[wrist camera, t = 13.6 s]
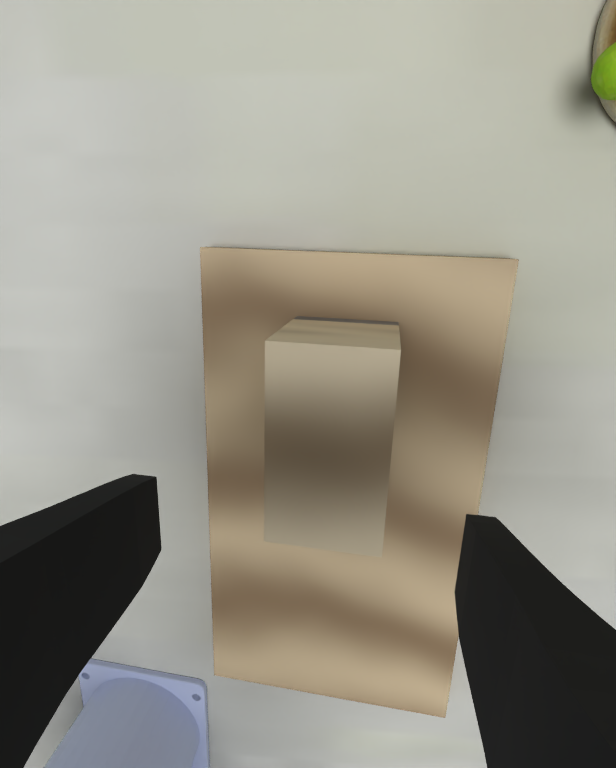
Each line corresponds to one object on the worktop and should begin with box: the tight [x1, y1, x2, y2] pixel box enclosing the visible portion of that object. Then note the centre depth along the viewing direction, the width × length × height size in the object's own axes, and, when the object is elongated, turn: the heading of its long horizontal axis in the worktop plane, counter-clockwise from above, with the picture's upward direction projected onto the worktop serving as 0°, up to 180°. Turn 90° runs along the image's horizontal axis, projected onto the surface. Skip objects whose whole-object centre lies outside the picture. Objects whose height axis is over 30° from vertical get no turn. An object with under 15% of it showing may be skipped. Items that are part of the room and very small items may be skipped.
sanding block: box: [264, 316, 401, 557], centre depth 17 cm, size 7×4×5 cm, turn 178°
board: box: [200, 247, 519, 718], centre depth 21 cm, size 22×12×1 cm, turn 178°
